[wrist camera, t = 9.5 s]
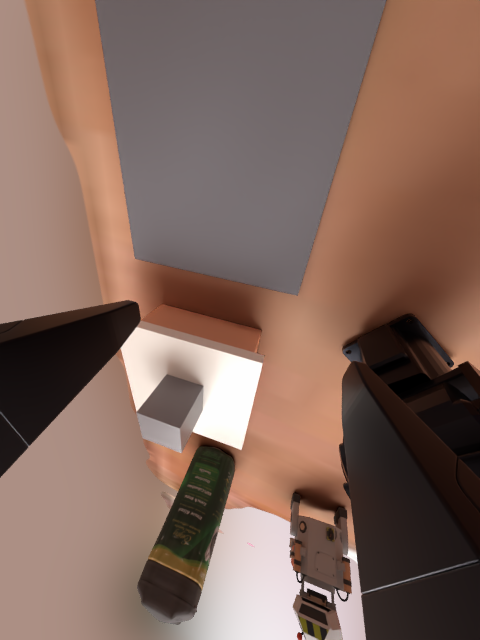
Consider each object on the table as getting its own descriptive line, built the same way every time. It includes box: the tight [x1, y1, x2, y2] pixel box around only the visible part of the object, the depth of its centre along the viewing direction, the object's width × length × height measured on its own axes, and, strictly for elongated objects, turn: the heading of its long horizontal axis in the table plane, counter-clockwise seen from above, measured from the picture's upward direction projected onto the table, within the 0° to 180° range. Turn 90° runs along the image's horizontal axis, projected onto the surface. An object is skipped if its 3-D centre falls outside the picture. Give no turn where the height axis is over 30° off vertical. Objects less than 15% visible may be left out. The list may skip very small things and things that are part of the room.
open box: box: [141, 304, 262, 353], centre depth 25 cm, size 12×12×5 cm
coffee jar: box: [137, 446, 235, 625], centre depth 33 cm, size 10×8×19 cm
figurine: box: [289, 493, 352, 640], centre depth 33 cm, size 9×12×15 cm
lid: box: [121, 320, 265, 453], centre depth 20 cm, size 14×14×6 cm
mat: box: [95, 0, 386, 296], centre depth 15 cm, size 17×20×1 cm
